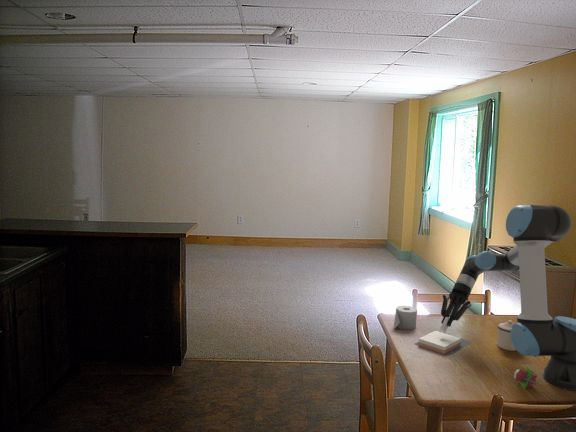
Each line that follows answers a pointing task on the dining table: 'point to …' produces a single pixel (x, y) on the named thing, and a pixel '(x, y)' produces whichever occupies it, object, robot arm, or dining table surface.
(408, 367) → the dining table surface
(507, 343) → the teacup with lid
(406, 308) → the toilet tissue
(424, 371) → the dining table surface
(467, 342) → the mat
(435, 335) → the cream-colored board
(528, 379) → the geometric puzzle
